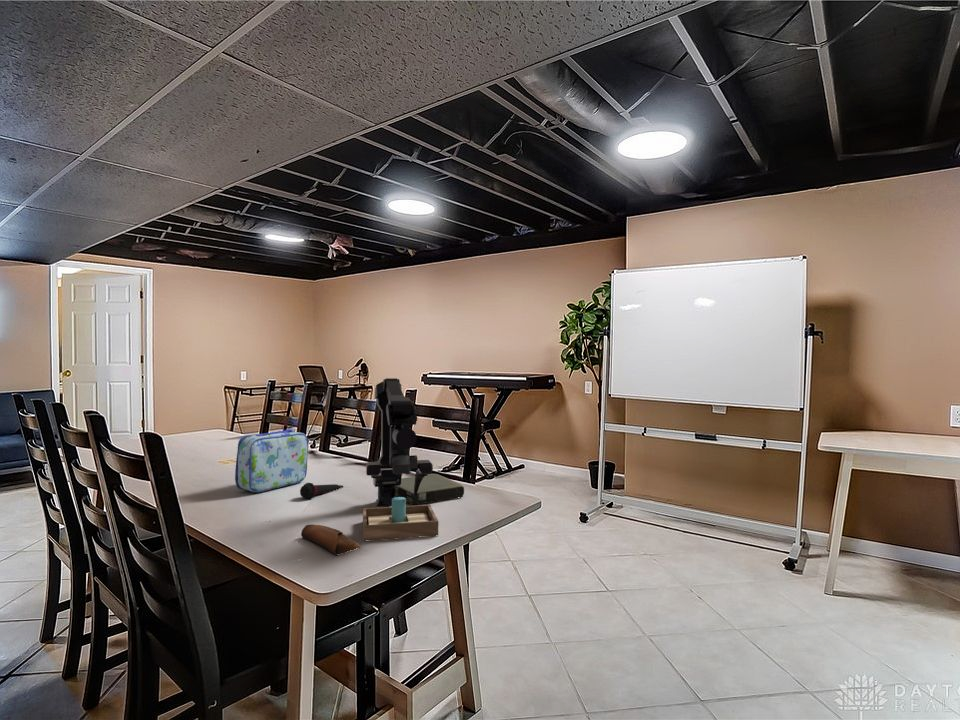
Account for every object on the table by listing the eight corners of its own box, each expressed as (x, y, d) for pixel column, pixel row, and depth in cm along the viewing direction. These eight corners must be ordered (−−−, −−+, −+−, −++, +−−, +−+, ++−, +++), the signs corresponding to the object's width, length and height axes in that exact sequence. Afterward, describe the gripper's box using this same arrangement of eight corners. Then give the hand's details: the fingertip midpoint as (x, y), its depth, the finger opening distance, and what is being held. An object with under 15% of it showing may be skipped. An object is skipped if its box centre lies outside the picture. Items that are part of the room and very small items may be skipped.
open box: (362, 522, 147) (363, 508, 147) (429, 517, 152) (429, 504, 152) (363, 541, 131) (364, 526, 131) (438, 535, 136) (438, 521, 136)
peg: (390, 524, 145) (391, 497, 145) (404, 523, 146) (405, 496, 146) (391, 529, 141) (392, 501, 141) (406, 528, 142) (406, 500, 142)
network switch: (379, 494, 178) (379, 480, 178) (431, 484, 194) (431, 471, 194) (416, 510, 161) (416, 494, 161) (470, 497, 177) (470, 483, 177)
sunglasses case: (365, 546, 127) (353, 527, 125) (344, 567, 123) (332, 548, 120) (328, 530, 140) (317, 512, 137) (308, 548, 135) (296, 530, 133)
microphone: (338, 495, 187) (297, 501, 169) (336, 480, 188) (295, 484, 170) (349, 492, 185) (309, 499, 167) (347, 477, 186) (307, 481, 168)
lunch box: (292, 478, 200) (293, 426, 200) (311, 481, 194) (311, 428, 194) (231, 492, 177) (232, 433, 177) (250, 496, 172) (251, 436, 172)
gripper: (367, 449, 133) (366, 507, 133) (436, 447, 138) (435, 503, 138) (366, 442, 144) (365, 496, 144) (430, 440, 149) (429, 492, 149)
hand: (399, 497), depth 143 cm, fingers open, 9 cm apart
